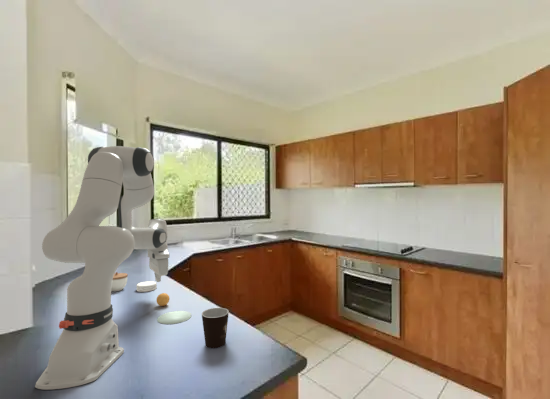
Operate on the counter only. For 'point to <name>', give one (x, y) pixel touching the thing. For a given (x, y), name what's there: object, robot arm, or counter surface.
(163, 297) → the ball
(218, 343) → the coffee mug
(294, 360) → the counter surface
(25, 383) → the counter surface
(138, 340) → the counter surface
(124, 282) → the lidded jar
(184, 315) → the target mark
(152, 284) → the white round disc
